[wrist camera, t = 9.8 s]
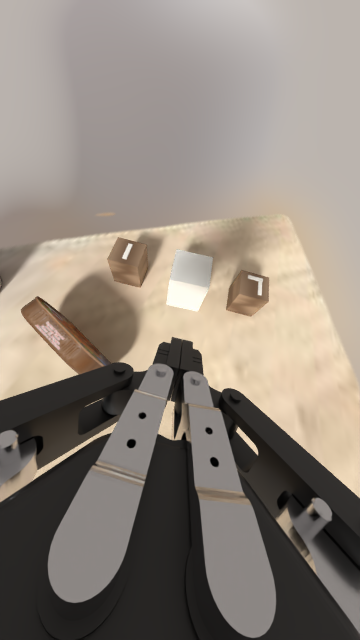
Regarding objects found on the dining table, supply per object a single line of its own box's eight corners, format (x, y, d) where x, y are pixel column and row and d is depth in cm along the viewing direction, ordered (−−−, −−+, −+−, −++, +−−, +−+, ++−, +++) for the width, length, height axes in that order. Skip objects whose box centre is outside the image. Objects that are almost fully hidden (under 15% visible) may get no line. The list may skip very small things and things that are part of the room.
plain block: (166, 304, 34) (169, 279, 27) (172, 278, 37) (176, 249, 29) (197, 311, 34) (209, 288, 27) (201, 285, 37) (213, 257, 30)
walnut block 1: (114, 281, 35) (106, 258, 29) (123, 260, 37) (118, 235, 31) (140, 287, 35) (137, 266, 29) (148, 266, 37) (146, 243, 31)
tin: (120, 373, 29) (108, 364, 21) (104, 389, 27) (84, 386, 20) (60, 311, 31) (29, 283, 23) (42, 323, 30) (4, 298, 22)
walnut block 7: (226, 310, 35) (239, 293, 30) (229, 288, 38) (242, 268, 32) (250, 316, 36) (269, 301, 30) (252, 294, 38) (269, 275, 32)
